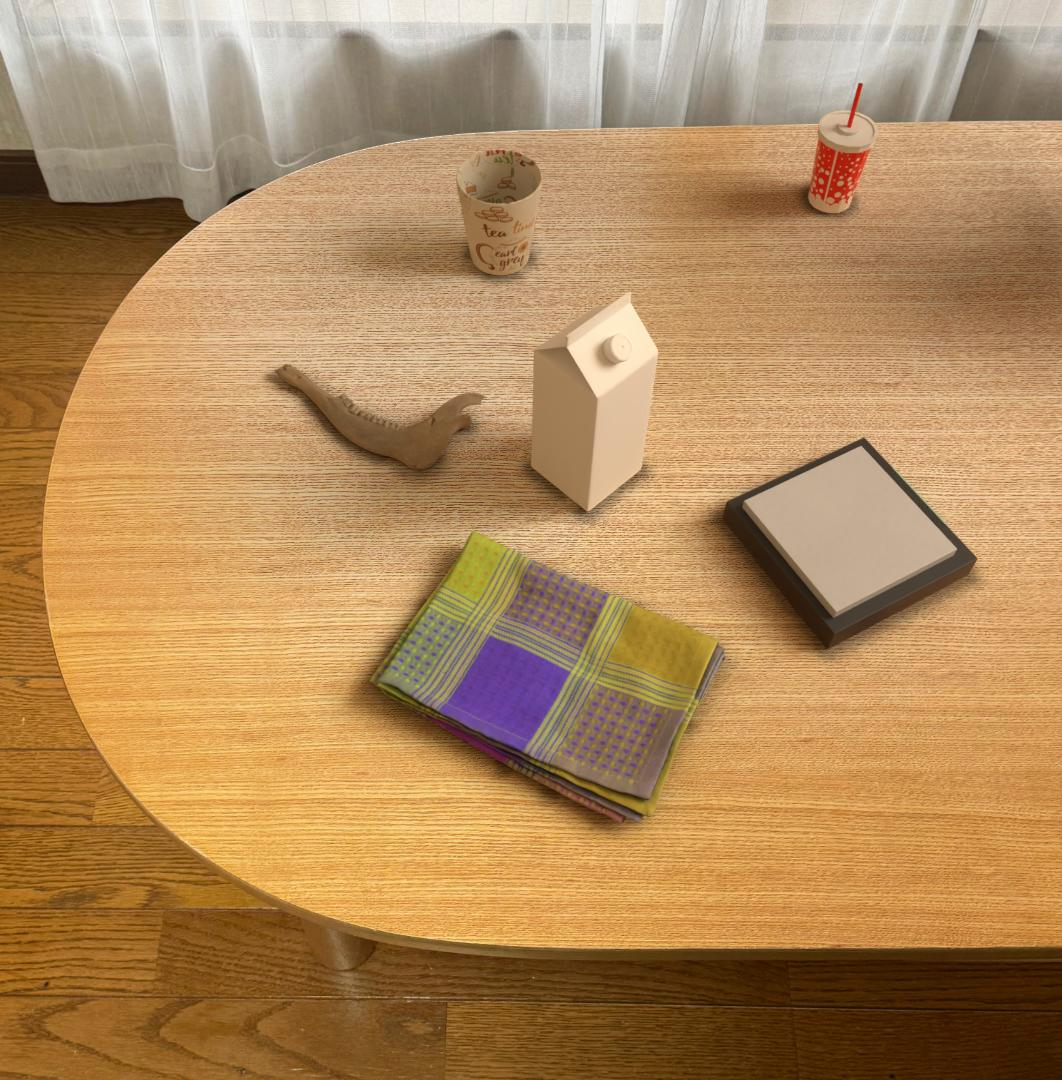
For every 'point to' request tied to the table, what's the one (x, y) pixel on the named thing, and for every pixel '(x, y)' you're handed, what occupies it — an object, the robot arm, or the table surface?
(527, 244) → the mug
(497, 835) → the table surface
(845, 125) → the beverage cup
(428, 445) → the jawbone
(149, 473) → the table surface
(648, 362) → the milk carton
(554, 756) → the dish towel
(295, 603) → the table surface
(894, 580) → the kitchen scale
